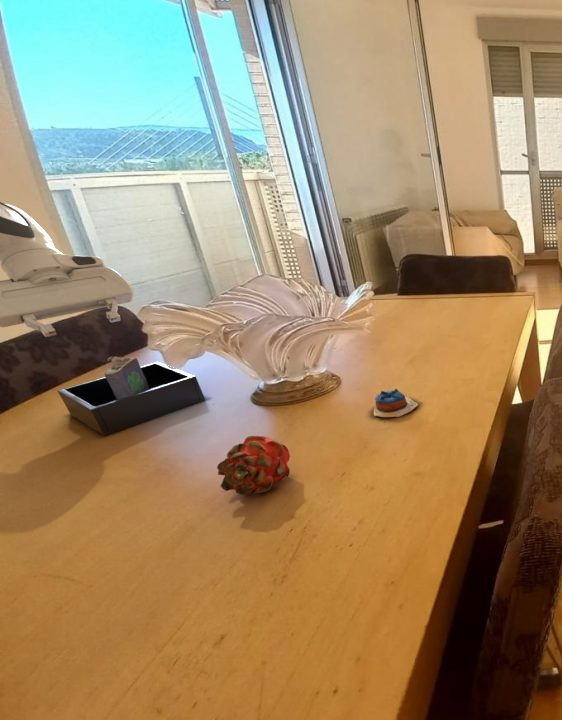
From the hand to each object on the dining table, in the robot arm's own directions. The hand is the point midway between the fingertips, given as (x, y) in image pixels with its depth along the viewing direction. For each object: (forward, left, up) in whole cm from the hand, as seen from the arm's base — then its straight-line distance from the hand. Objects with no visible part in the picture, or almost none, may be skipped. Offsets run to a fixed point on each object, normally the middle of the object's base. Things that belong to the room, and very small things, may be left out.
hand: (84, 326), depth 95 cm
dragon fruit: (-2, -62, -16) cm, 64 cm away
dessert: (+23, -60, -16) cm, 66 cm away
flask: (0, -11, -15) cm, 19 cm away
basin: (0, -11, -16) cm, 19 cm away
